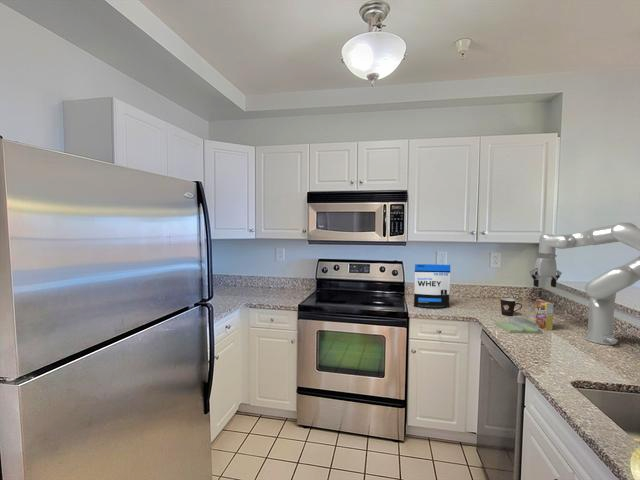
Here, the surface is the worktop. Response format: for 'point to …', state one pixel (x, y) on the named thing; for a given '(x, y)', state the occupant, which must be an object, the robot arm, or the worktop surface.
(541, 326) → the candy box
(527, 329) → the deck plate
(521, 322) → the side bracket
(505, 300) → the coffee mug
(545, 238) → the robot arm
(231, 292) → the worktop surface
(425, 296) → the protein powder
